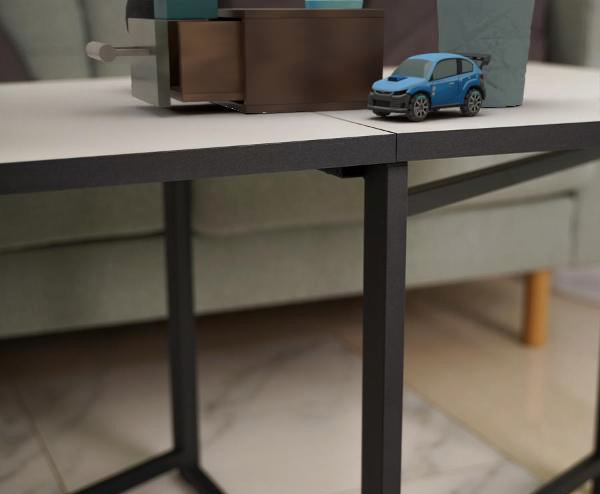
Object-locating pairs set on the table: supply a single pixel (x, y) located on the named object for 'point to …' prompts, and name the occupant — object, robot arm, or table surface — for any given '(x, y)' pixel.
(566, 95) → the table surface
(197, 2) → the block
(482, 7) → the grey-green crumpled block
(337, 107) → the cabinet
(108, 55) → the drawer
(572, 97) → the table surface
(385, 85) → the toy car
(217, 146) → the table surface
